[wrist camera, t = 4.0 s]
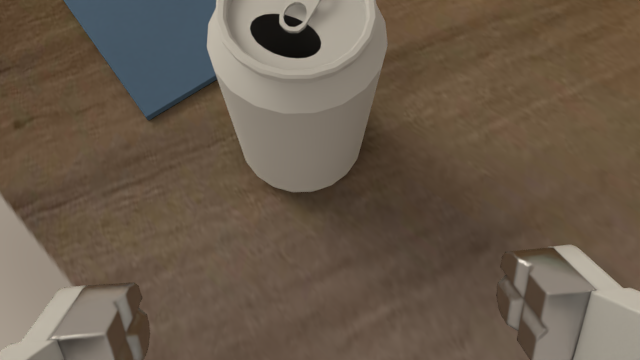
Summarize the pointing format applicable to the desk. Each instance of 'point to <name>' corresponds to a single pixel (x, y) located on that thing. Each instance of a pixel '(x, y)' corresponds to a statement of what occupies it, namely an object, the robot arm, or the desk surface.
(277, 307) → the desk surface
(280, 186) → the can
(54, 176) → the desk surface
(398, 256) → the desk surface
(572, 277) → the robot arm
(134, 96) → the mat
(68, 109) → the desk surface
